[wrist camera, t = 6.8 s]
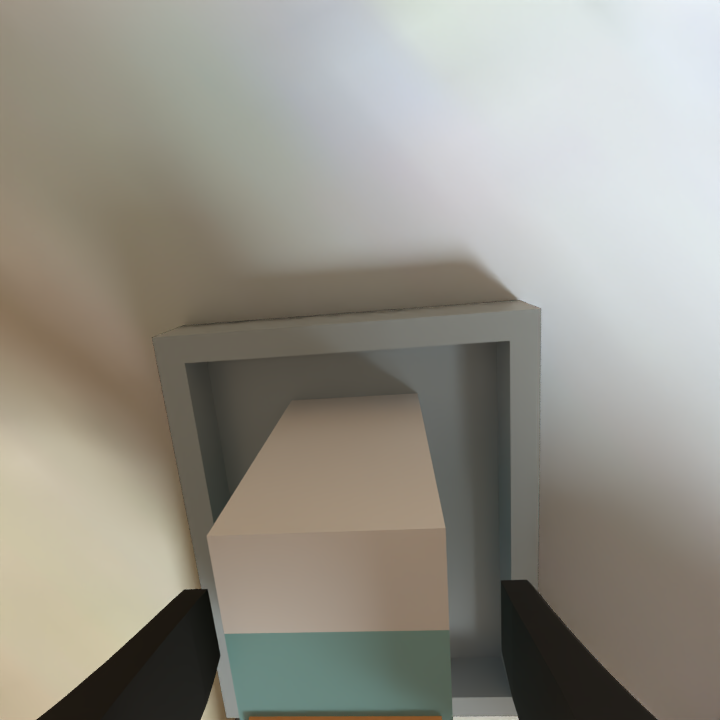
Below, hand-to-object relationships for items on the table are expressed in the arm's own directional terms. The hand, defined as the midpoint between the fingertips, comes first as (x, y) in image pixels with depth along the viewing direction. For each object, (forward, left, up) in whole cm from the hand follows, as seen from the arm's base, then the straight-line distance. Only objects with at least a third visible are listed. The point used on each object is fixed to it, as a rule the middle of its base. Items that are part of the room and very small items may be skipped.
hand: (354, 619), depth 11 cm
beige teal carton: (0, 0, -4) cm, 4 cm away
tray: (0, 0, -5) cm, 5 cm away
